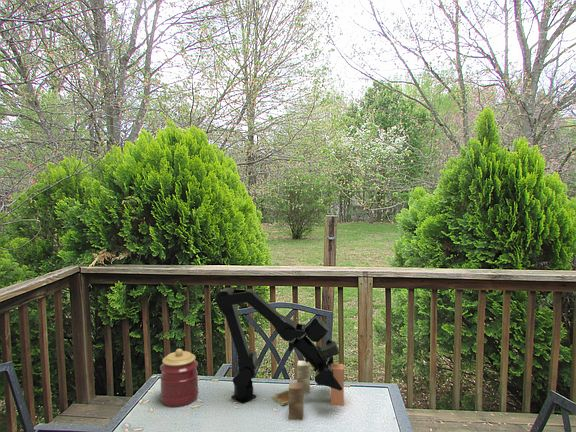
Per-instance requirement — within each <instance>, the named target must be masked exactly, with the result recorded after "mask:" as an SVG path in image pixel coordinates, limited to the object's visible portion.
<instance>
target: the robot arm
mask: <svg viewBox="0 0 576 432" xmlns="http://www.w3.org/2000/svg"><path fill="white" fill-rule="evenodd" d="M215 303H216V306H217V307H218V309H219V311H220V313H221V314H223V316H224V317H225V320H226V323H227V325H228V329H229V332H230V336H231V338H232V339H231V340H232V341H233V345H234V348H235V352H236V354H237V371H236V373H235V374H234V376H233V378H232V383H233V385H234V386H233V387H234V388H233V389H234V390H233V393H234V394H233V395H231V396H230V399H233V400H234V401H237V402H239V403H240V404H245V403H247V402H248V401H251V400H252V399H256V398H257V395H256V394H254V386H253V385H254V383H253V380H252V379H253V378H254V377H255V375H256V373H257V371H258V369H259V364H260V360H259V358H258V354H257V351H254V352H252V350H251V349H250V347H249V345H248V344H249V343H248V341H247V338H246V335H245V331H244V329H243V326H242V323H241V319H240V317H239V313H238V305H239V304H244V303H247V304H248V305H249V306H251V307H252V309H254V310H255V311H256V312H258V313H259V314H260V315H261V316H262V317H263V318H265V320H267V321H268V322H269V323H270V324H271V325H272V326H273V329H275V331H276V333H278V335H279V337H281V339H282V340H284V341H286V342H288V352H292V350H293V349H295V350H296V351H297V352H298V353H299V354H300V355H301V356H302V357H303V358H304V361H305V362H306V363H308V362H309V363H310V366H312V367H313V371H314V372H315V373H314V382H315V383H316V384H317V385H318V386H325V387H328V388H330V389H331V388H334V389H337V390H339V391H341V390H342V387H341V385H340V384H339V383H338V381H337V380H336V378H335V377H334V376H333V370H332V368H331V364H335V363H334V357H335V356H338V355H339V354H340V348H339V346H338V343H337V342H336V340H332V339H331V338H328V339H326V341H325V344H323V346H321V345H319V344H315V343H316V342H317V343H318V342H319V341H321V340H322V339H323V338H324V337H325V336H326V335H327V334H328V333H329V332H330V331H331V330H330V328H329V327H328V325H327V324H326V323H325V322H324V321H323V320H321V319H319V318H318V317H317V316H313V318H312V320H311V321H310V322H308V324H307V325H306V324H302V323H297V322H296V321H295V320H293V319H292V318H290V317H288V316H286V315H283V314H281V313H280V312H279V311H278V310H276V309H275V308H274V307H273V306H271V305H270V304H269V303H268V302H267V301H265V300H264V299H263V298H262V297H261V296H260V295H259V294H257V292H256V291H255V290H254V289H252V288H250V289H240V288H238V289H233V288H232V287H225V288H222V289H221V291H219V292H218V293H217V294H216V296H215Z"/></svg>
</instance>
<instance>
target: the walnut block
mask: <svg viewBox="0 0 576 432" xmlns="http://www.w3.org/2000/svg"><path fill="white" fill-rule="evenodd" d="M288 390H289V404H288V420H294V421H295V420H296V421H297V420H298V421H303V420H304V413H305V411H304V393H303V383H301V382H296V381H289V385H288Z"/></svg>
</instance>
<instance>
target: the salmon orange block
mask: <svg viewBox="0 0 576 432" xmlns="http://www.w3.org/2000/svg"><path fill="white" fill-rule="evenodd" d="M331 368H332V370H333V376H334V377H335V378H336V380H337V381H338V383H339V384H340V385H341V387H342V390H341V391H339V390H337V389H334V388H331V387H330V406H338V405H339V406H340V407H341V406H342V407H344V406H345V405H344V404H345V395H344V394H345V391H344V390H345V386H344V385H345V383H344V382H345V381H344V380H345V379H344V378H345V377H344V376H345V375H344V373H345V372H344V371H345V368H344V363H334V364H331Z"/></svg>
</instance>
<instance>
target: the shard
mask: <svg viewBox="0 0 576 432" xmlns="http://www.w3.org/2000/svg"><path fill="white" fill-rule="evenodd" d="M271 400H273V401H275V402H276V403H278V404H279V405H280V406H282V407H283V406H285V405H286V406H287V405H289V389H288V390H285V391H282V392H279V393H277V394H275V395H273V396H272V399H271Z"/></svg>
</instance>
